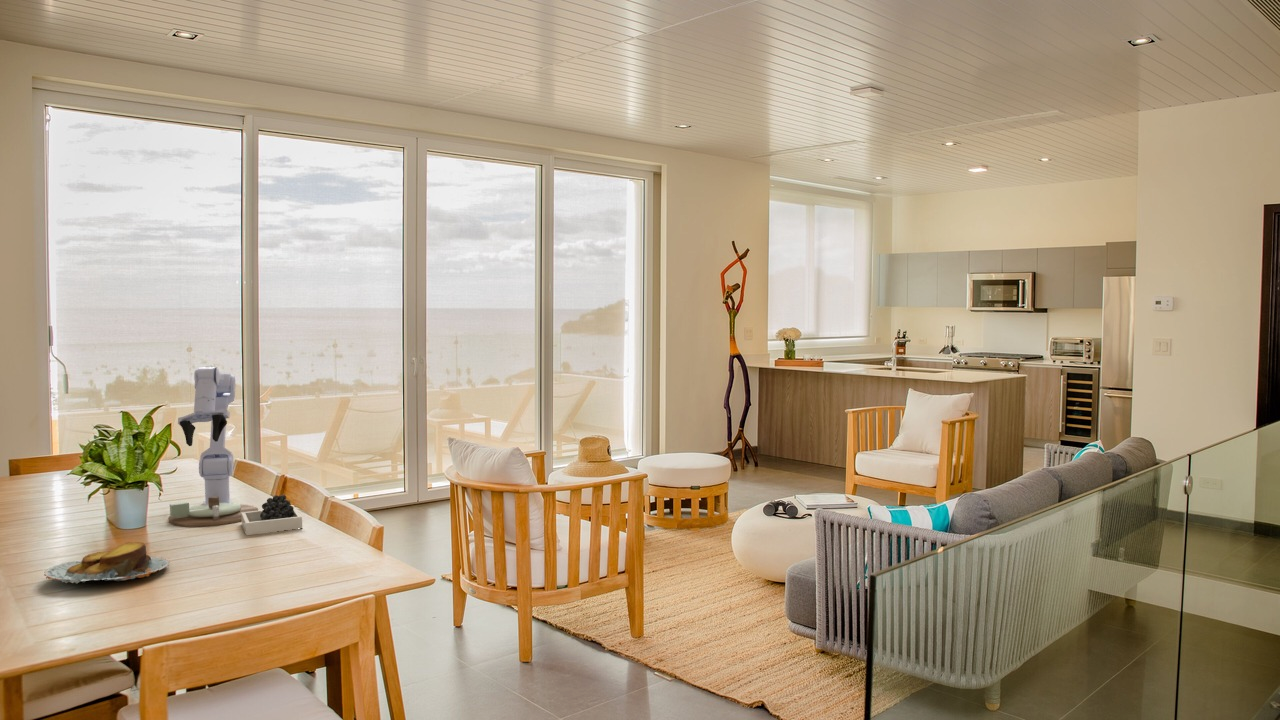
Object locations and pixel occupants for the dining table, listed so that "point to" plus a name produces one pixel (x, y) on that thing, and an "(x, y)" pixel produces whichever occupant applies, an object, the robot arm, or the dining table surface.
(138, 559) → the food on plate
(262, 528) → the fruit frame
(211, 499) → the base board
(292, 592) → the dining table surface
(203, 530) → the dining table surface
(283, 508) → the fruit
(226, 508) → the flange plate
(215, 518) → the dowel
